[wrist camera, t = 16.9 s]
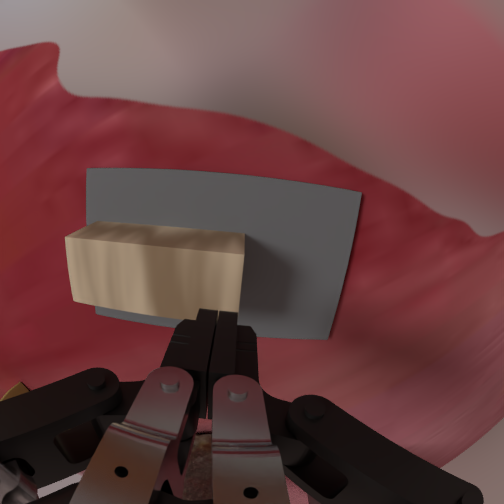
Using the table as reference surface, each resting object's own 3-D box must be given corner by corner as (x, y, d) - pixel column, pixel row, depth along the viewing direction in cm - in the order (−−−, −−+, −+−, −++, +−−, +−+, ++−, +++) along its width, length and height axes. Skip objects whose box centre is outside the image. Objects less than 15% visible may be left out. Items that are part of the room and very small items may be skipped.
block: (244, 254, 13) (61, 236, 12) (237, 325, 14) (70, 300, 14) (244, 233, 17) (94, 220, 16) (238, 292, 18) (98, 275, 17)
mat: (359, 191, 16) (361, 192, 16) (326, 336, 20) (327, 339, 20) (89, 168, 15) (86, 168, 15) (98, 311, 19) (96, 314, 19)
